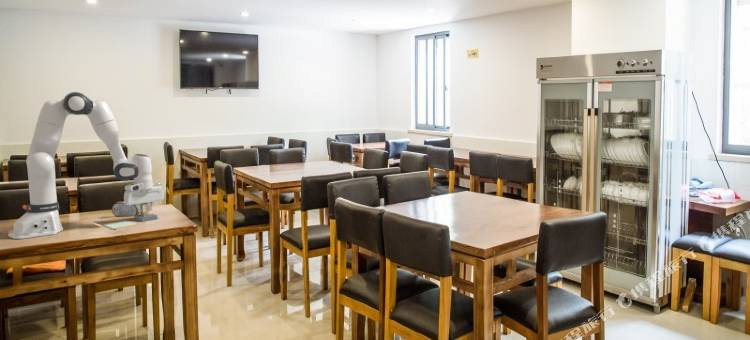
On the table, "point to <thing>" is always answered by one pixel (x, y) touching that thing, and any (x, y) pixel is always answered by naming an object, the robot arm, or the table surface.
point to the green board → (118, 224)
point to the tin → (124, 209)
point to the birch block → (145, 209)
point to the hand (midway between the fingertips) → (145, 211)
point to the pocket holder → (145, 218)
